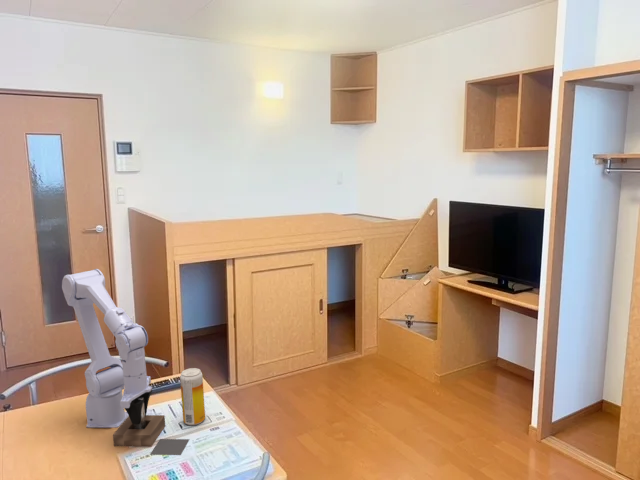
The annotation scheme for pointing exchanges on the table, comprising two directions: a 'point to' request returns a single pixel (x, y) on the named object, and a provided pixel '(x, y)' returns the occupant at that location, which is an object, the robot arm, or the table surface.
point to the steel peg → (143, 423)
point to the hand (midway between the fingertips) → (139, 419)
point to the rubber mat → (169, 447)
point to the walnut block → (139, 432)
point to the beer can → (192, 396)
